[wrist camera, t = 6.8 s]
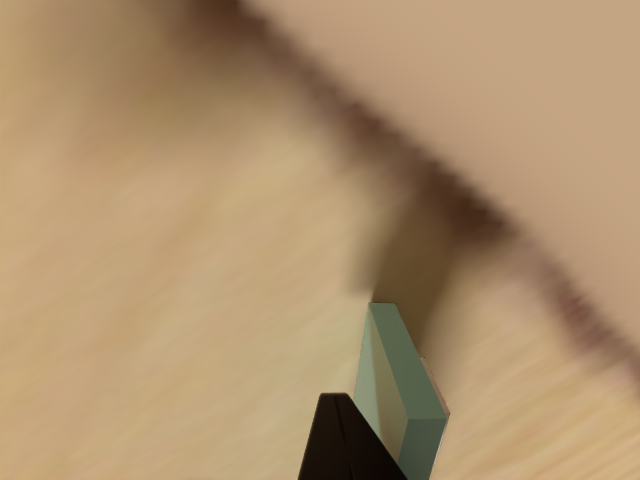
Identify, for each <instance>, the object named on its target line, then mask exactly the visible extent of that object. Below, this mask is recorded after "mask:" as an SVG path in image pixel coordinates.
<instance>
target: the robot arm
mask: <svg viewBox="0 0 640 480" xmlns="http://www.w3.org/2000/svg"><path fill="white" fill-rule="evenodd" d="M298 480H408V479H407V477H406V476H405V474H404V473H403V472H402V470H401V469H400V467H399V466H398V464H397V463H396V462H395V460H394V459H393V457H392V456H391V455H390V453H389V452H388V450H387V449H386V447H385V446H384V445H383V443H382V442H381V440H380V439H379V437H378V436H377V435H376V433H375V432H374V430H373V429H372V428H371V426H370V425H369V423H368V422H367V420H366V419H365V418H364V416H363V415H362V413H361V412H360V411H359V409H358V408H357V406H356V405H355V403H354V402H353V401H352V399H351V398H350V396H349V395H348V394H347V393H321V394H320V396H319V400H318V404H317V407H316V411H315V415H314V419H313V423H312V426H311V430H310V434H309V438H308V442H307V445H306V449H305V453H304V457H303V461H302V464H301V468H300V472H299V476H298Z"/></svg>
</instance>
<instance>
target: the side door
mask: <svg viewBox="0 0 640 480" xmlns="http://www.w3.org/2000/svg"><path fill="white" fill-rule="evenodd" d="M353 402H354V403H355V405H356V406H357V408H358V409H359V411H360V412H361V413H362V415H363V416H364V418H365V419H366V420H367V422H368V423H369V425H370V426H371V428H372V429H373V430H374V432H375V433H376V435H377V436H378V437H379V439H380V440H381V442H382V443H383V445H384V446H385V447H386V449H387V450H388V452H389V453H390V455H391V456H392V457H393V459H394V460H395V462H396V463H397V464H398V466H399V467H400V469H401V470H402V472H403V473H404V474H405V476H406V477H407V479H408V480H429V477H430V474H431V471H432V467H433V466H434V465H435V461H436V458H437V455H438V452H439V448H440V445H441V442H442V439H443V435H444V432H445V429H446V426H447V422H448V419H449V416H450V412H449V409H448V407H447V405H446V403H445V401H444V399H443V397H442V395H441V392H440V390H439V388H438V386H437V384H436V382H435V380H434V378H433V375H432V373H431V371H430V369H429V367H428V365H427V363H426V360H425V358H424V357H419V355H418V353H417V350H416V348H415V346H414V344H413V342H412V339H411V337H410V335H409V333H408V331H407V328H406V326H405V324H404V322H403V320H402V317H401V315H400V313H399V311H398V309H397V306H396V304H395V303H368V309H367V315H366V322H365V328H364V335H363V341H362V348H361V354H360V361H359V367H358V374H357V380H356V387H355V393H354V399H353Z"/></svg>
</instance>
